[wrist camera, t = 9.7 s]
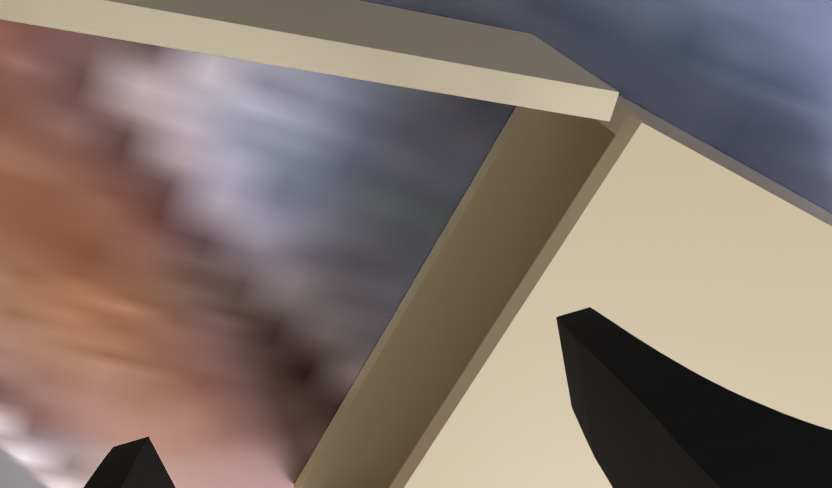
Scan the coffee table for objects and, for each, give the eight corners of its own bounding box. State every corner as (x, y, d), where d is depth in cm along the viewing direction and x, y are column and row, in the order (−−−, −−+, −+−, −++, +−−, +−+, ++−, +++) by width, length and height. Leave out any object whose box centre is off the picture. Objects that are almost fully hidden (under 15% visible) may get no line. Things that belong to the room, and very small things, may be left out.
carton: (546, 54, 21) (641, 122, 15) (847, 222, 25) (1004, 320, 19) (293, 485, 26) (299, 647, 20) (578, 564, 30) (644, 716, 25)
